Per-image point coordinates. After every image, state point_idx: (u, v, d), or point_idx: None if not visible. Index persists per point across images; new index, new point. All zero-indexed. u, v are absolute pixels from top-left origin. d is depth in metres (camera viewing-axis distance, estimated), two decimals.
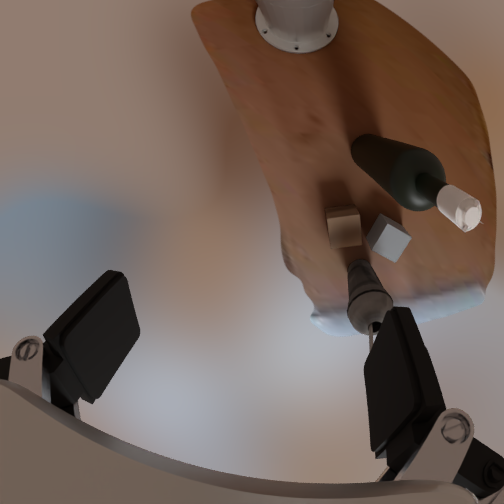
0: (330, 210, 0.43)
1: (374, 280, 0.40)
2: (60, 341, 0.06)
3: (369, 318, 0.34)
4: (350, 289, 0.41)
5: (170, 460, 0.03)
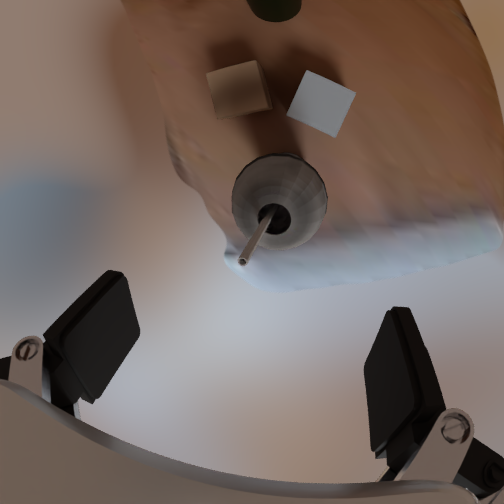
0: None
1: None
2: (60, 341, 0.06)
3: (257, 197, 0.17)
4: None
5: (170, 460, 0.03)
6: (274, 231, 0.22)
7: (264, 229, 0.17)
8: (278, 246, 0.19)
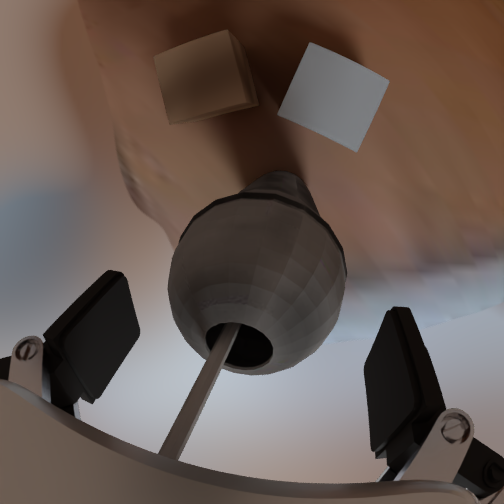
0: None
1: (286, 189, 0.14)
2: (60, 341, 0.06)
3: (201, 305, 0.08)
4: None
5: (170, 460, 0.03)
6: None
7: (215, 376, 0.07)
8: None
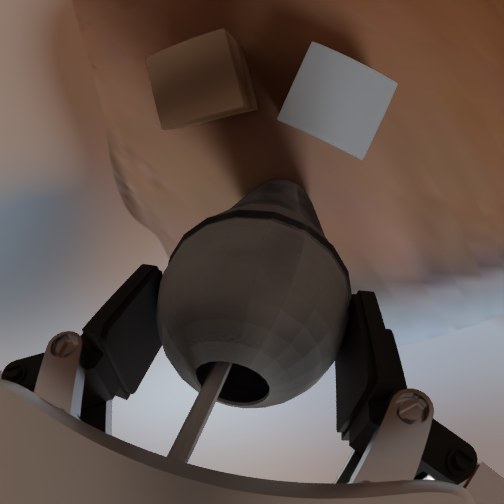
0: None
1: (286, 202, 0.13)
2: (101, 335, 0.06)
3: (189, 341, 0.07)
4: None
5: (170, 460, 0.03)
6: None
7: (206, 415, 0.06)
8: None
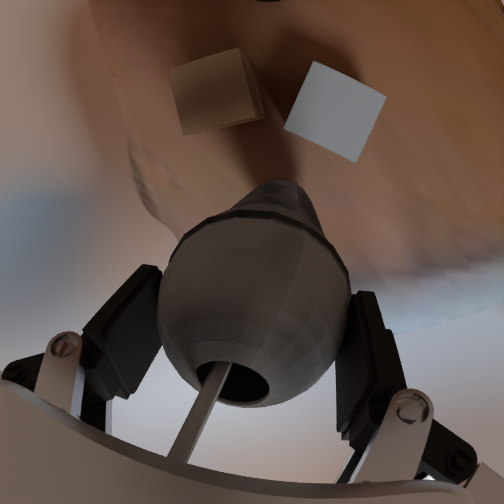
0: None
1: (287, 202, 0.13)
2: (101, 335, 0.06)
3: (189, 340, 0.07)
4: None
5: (170, 460, 0.03)
6: None
7: (206, 415, 0.06)
8: None
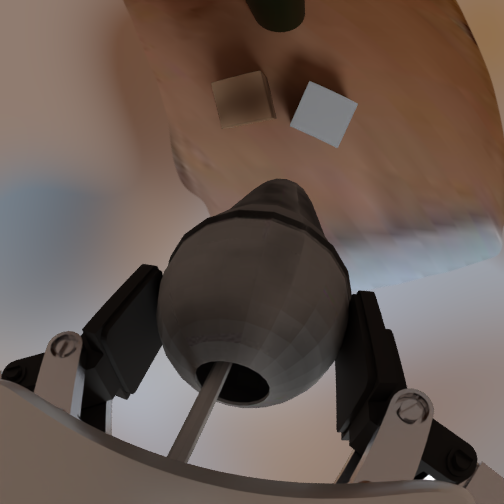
0: None
1: (287, 202, 0.13)
2: (101, 335, 0.06)
3: (189, 341, 0.07)
4: None
5: (170, 460, 0.03)
6: None
7: (206, 415, 0.06)
8: None
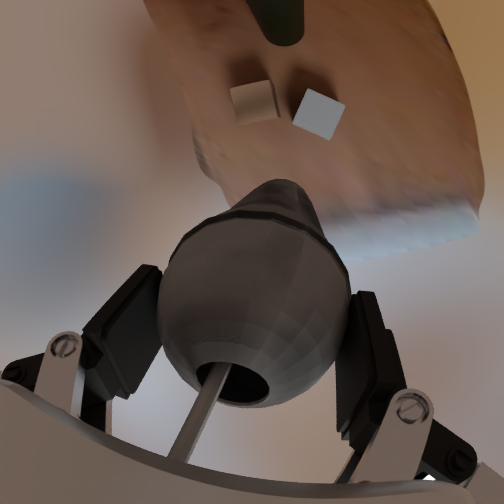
0: None
1: (286, 202, 0.13)
2: (101, 335, 0.06)
3: (189, 341, 0.07)
4: None
5: (170, 460, 0.03)
6: None
7: (206, 416, 0.06)
8: None
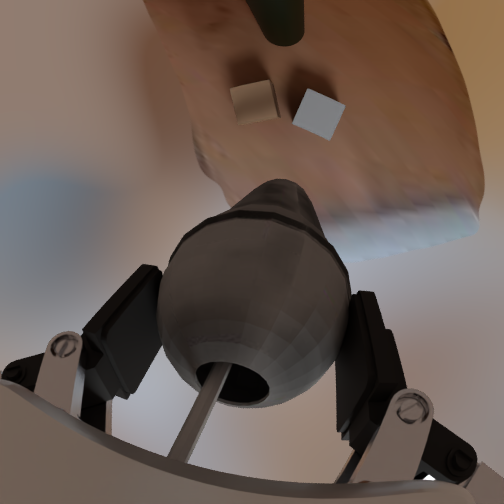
0: None
1: (286, 202, 0.13)
2: (101, 335, 0.06)
3: (189, 341, 0.07)
4: None
5: (170, 460, 0.03)
6: None
7: (206, 416, 0.06)
8: None
